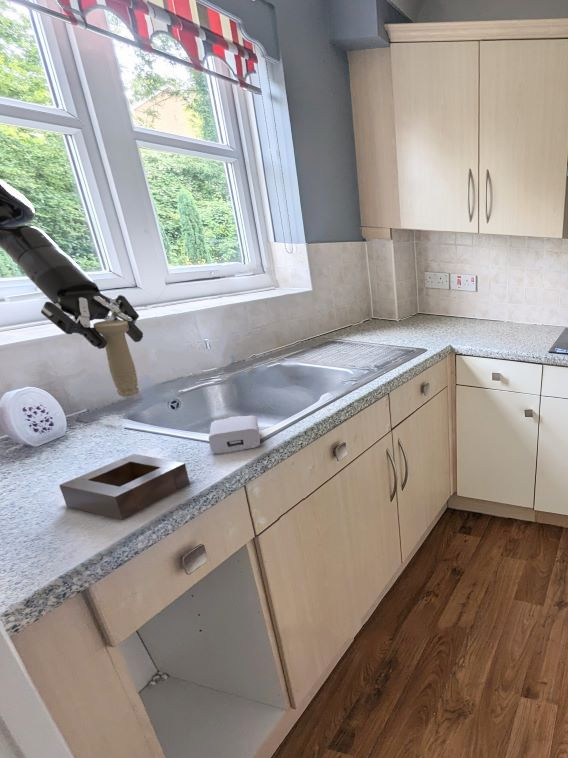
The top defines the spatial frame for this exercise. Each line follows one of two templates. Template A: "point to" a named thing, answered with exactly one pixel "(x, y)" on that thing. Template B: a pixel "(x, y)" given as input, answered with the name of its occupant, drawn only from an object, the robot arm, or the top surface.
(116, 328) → the handle
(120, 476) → the socket
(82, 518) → the top surface
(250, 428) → the charger
